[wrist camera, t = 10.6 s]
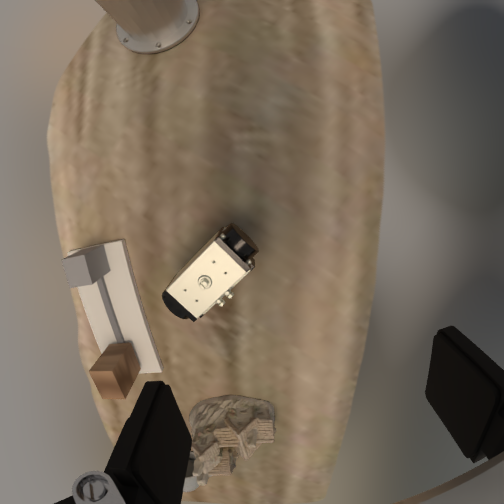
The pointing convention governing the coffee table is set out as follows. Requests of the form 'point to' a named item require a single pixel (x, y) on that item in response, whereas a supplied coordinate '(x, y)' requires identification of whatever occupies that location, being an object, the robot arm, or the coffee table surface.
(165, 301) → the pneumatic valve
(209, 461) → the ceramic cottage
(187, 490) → the ceramic mug
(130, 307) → the board
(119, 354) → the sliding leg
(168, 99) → the coffee table surface
